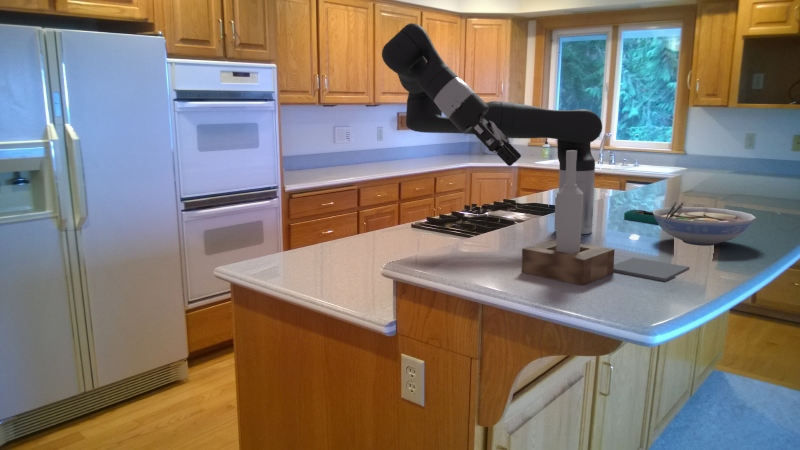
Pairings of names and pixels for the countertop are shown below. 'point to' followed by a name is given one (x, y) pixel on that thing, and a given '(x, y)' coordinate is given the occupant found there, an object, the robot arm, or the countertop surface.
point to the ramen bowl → (702, 224)
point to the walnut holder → (568, 262)
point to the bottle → (569, 210)
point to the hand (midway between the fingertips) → (515, 161)
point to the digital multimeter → (640, 216)
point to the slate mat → (649, 269)
